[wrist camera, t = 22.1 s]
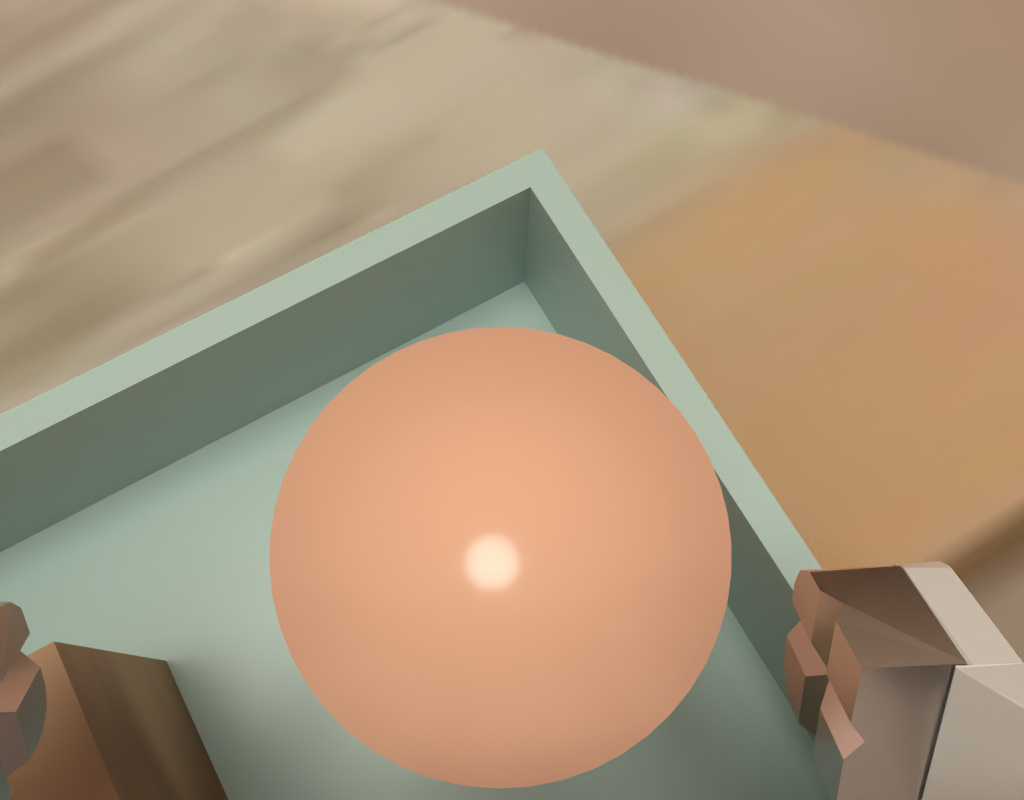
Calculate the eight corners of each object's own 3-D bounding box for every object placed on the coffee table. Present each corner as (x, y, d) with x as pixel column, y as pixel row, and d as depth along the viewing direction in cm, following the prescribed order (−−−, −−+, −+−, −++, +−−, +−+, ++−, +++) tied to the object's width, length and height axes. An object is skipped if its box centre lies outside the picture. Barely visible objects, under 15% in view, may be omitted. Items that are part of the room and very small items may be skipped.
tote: (533, 260, 22) (541, 147, 18) (877, 800, 19) (993, 825, 14) (-214, 643, 19) (-421, 621, 15) (28, 1365, 16) (-151, 1612, 11)
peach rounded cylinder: (674, 669, 19) (822, 631, 10) (447, 806, 18) (402, 888, 9) (545, 452, 20) (582, 256, 12) (328, 570, 19) (194, 454, 11)
